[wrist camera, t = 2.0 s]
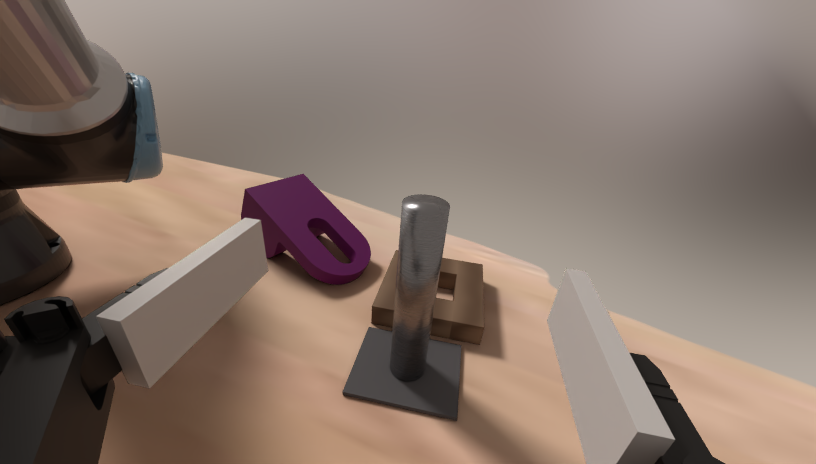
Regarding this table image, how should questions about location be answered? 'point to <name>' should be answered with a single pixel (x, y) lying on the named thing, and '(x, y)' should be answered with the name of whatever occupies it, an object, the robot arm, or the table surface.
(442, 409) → the mat
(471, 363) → the table surface
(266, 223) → the mounting bracket
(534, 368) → the table surface
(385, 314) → the collar
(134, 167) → the robot arm
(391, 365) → the peg
